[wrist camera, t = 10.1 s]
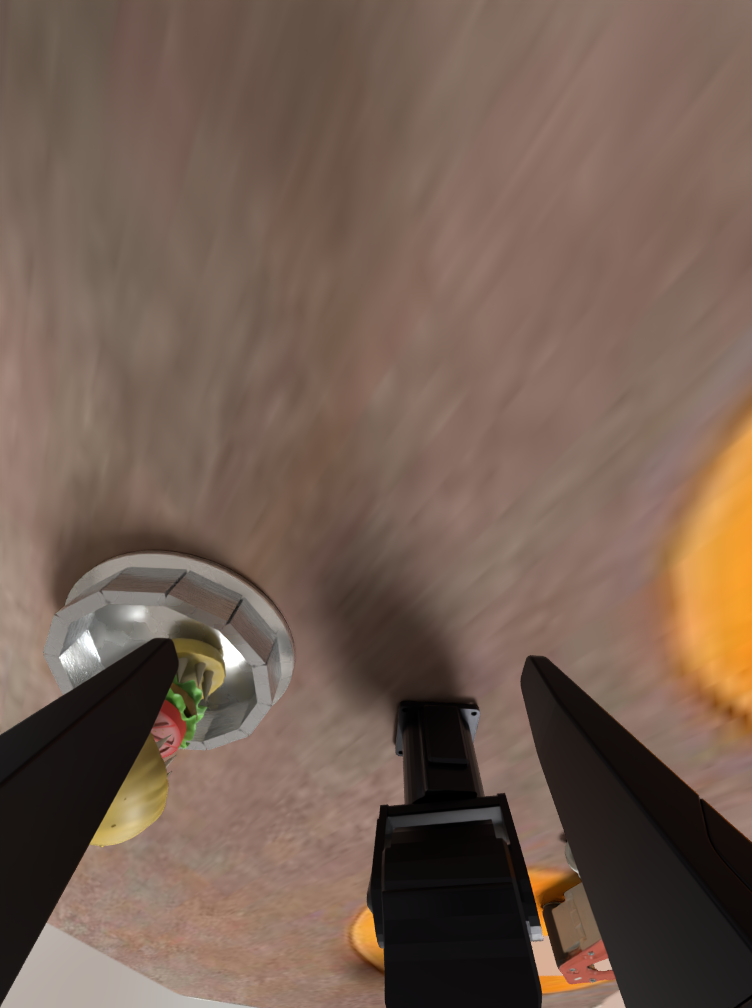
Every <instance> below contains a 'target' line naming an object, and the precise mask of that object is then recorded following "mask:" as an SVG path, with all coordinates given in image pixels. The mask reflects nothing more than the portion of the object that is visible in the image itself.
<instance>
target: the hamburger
mask: <svg viewBox="0 0 752 1008" xmlns="http://www.w3.org/2000/svg"><path fill="white" fill-rule="evenodd" d="M172 640H173V642H174V645H175V648H176V652H177V656H178V659H179V667H178V671H177V673H176V676H175V678H174V680H173V683H172V685H171V687H170V689H169V692H168V694H167V696H166V699H165V701H164V703H163V705H162V708H161V710H160V712H159V715H158V717H157V719H156V721H155V724H154V726H153V728H152V730H151V732H150V734H149V736H148V738H147V740H146V742H145V744H144V746H143V748H142V749H141V751H140V753H139V755H138V757H137V759H136V760H135V762H134V764H133V766H132V768H131V770H130V771H129V773H128V775H127V777H126V779H125V780H124V782H123V784H122V786H121V788H120V790H119V791H118V793H117V795H116V797H115V799H114V800H113V802H112V804H111V806H110V808H109V810H108V811H107V813H106V815H105V817H104V819H103V821H102V822H101V824H100V826H99V828H98V830H97V831H96V833H95V835H94V837H93V839H92V841H91V842H90V844H89V845H96V846H100V847H104V846H106V845H114V844H118V843H122V842H124V841H127V840H129V839H131V838H133V837H134V836H136V835H138V834H139V833H141V832H142V831H143V830H145V829H146V828H147V827H148V826H149V825H151V824H152V823H153V822H155V821H156V820H157V819H158V817H159V816H160V815H161V813H162V812H163V810H164V808H165V802H166V799H167V791H168V780H167V778H168V776H169V775H170V774H171V772H172V771H171V772H169V773H168V774H167V770H166V768H167V767H168V765H169V764H170V763H171V762H172V760H173V759H174V758H175V757H176V755H175V756H174V757H172V758H170V759H169V760H167V761H165V762H164V760H163V759H162V758H164V757H167V756H169V755H171V754H173V753H174V752H175V751H176V750H177V749H178V748H181V747H182V748H183V749H185V748H186V747H187V746H189V745H190V743H189V742H186V741H191V740H192V739H193V736H194V734H195V731H196V723H198V722H199V721H200V720H201V718H202V717H203V716H204V712H205V710H206V709H207V707H206V706H203V705H198V704H199V702H200V700H201V699H203V698H204V702H205V704H206V701H207V698H208V696H209V695H210V694H211V693H213V692H214V691H215V690H216V689H217V688H218V687H220V686H221V685H222V683H223V682H224V678H225V676H226V670H225V662H224V659H223V657H222V655H221V653H220V652H219V651H218V650H217V649H216V648H215V647H213V646H212V645H210V644H208V643H205V642H203V641H199V640H195V639H185V638H175V639H172Z"/></svg>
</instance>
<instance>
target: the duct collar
mask: <svg viewBox="0 0 752 1008" xmlns="http://www.w3.org/2000/svg"><path fill="white" fill-rule="evenodd" d="M153 638H170V639H175V638H185V639H195V640H199V641H203V642H205V643H208V644H210V645H212V646H213V647H215V648H216V649H217V650H218V651H219V652H220V653H221V655H222V657H223V659H224V662H225V670H226V676H225V678H224V682H223V683H222V685H221V686H220V687H218V688H217V689H216V690H215V691H214V692H213V693H211V694H210V695H209V696H208V698H207V701H206V704H205V702H204V698H203V699H201V700H200V702H199V704H198V705H203V706H206V707H207V709H206V710H205V712H204V716H203V717H202V718H201V720H200V721H199V722H198V723H196V731H195V734H194V736H193V739H192V740H191V741H186V742H189V743H190V745H189V746H187V747H186V748H185V749H192V750H207V749H208V750H210V749H213V748H216V747H219V746H222V745H225V744H228V743H231V742H233V741H236V740H239V739H242V738H245V737H248V736H249V735H251V733H252V732H253V731H254V729H255V728H256V727H257V725H258V724H259V723H260V721H261V720H262V719H263V717H264V716H265V715H266V713H267V712H268V710H269V709H270V708H271V706H272V705H274V704H275V703H276V702H277V701H278V700H279V699H280V698H281V696H282V695H283V694H284V692H285V690H286V689H287V687H288V685H289V682H290V680H291V677H292V673H293V669H294V664H295V648H294V642H293V638H292V635H291V632H290V629H289V627H288V625H287V623H286V621H285V619H284V617H283V616H282V614H281V613H280V612H279V610H278V609H277V607H276V606H275V605H274V604H273V603H272V602H271V600H270V599H269V598H268V597H267V596H266V595H265V594H264V593H263V592H262V591H260V590H259V589H258V588H257V587H256V586H255V585H253V584H252V583H251V582H249V581H248V580H246V579H245V578H243V577H242V576H241V575H239V574H237V573H235V572H233V571H232V570H230V569H228V568H226V567H224V566H222V565H219V564H217V563H215V562H212V561H210V560H207V559H204V558H200V557H197V556H194V555H190V554H185V553H180V552H173V551H163V550H144V551H137V552H129V553H126V554H122V555H118V556H115V557H113V558H110V559H108V560H106V561H104V562H102V563H100V564H99V565H97V566H96V567H94V568H93V569H91V570H90V571H89V572H87V573H86V574H85V575H84V576H83V577H82V578H80V579H79V580H78V581H77V582H76V584H75V585H74V587H73V588H72V589H71V591H70V593H69V595H68V598H67V600H66V603H65V606H64V607H63V608H62V609H60V610H59V611H58V612H57V613H56V614H55V615H54V617H53V620H52V624H51V627H50V631H49V634H48V637H47V641H46V644H45V648H44V651H43V653H45V654H44V657H45V659H46V661H47V663H48V665H49V667H50V669H51V672H52V674H53V676H54V678H55V680H56V682H57V684H58V686H59V688H60V690H61V692H62V694H66V693H67V692H69V691H71V690H72V689H74V688H75V687H77V686H78V685H80V684H82V683H83V682H85V681H86V680H88V679H90V678H91V677H93V676H94V675H96V674H97V673H99V672H101V671H102V670H104V669H105V668H107V667H109V666H110V665H112V664H113V663H115V662H116V661H118V660H120V659H121V658H123V657H124V656H126V655H128V654H129V653H131V652H132V651H134V650H135V649H137V648H139V647H140V646H142V645H143V644H145V643H147V642H148V641H150V640H151V639H153ZM178 749H183V748H182V747H181V748H178Z"/></svg>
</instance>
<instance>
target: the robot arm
mask: <svg viewBox="0 0 752 1008" xmlns="http://www.w3.org/2000/svg"><path fill="white" fill-rule="evenodd" d="M178 667H179V659H178V656H177V652H176V648H175V645H174V642H173V640H172V639H170V638H153V639H151V640H150V641H148V642H147V643H145V644H143V645H142V646H140V647H139V648H137V649H135V650H134V651H132V652H131V653H129V654H128V655H126V656H124V657H123V658H121V659H120V660H118V661H116V662H115V663H113V664H112V665H110V666H109V667H107V668H105V669H104V670H102V671H101V672H99V673H97V674H96V675H94V676H93V677H91V678H90V679H88V680H86V681H85V682H83V683H82V684H80V685H78V686H77V687H75V688H74V689H72V690H71V691H69V692H67V693H66V694H64V695H63V696H61V697H60V698H58V699H56V700H55V701H53V702H52V703H50V704H48V705H47V706H45V707H44V708H42V709H41V710H39V711H37V712H36V713H34V714H33V715H31V716H29V717H28V718H26V719H25V720H23V721H22V722H20V723H18V724H17V725H15V726H14V727H12V728H10V729H9V730H7V731H6V732H4V733H3V734H1V735H0V1006H1V1004H2V1003H3V1001H4V999H5V997H6V995H7V994H8V992H9V990H10V988H11V986H12V984H13V983H14V981H15V979H16V977H17V975H18V974H19V972H20V970H21V968H22V966H23V964H24V963H25V960H26V958H27V957H28V955H29V954H30V952H31V950H32V948H33V946H34V944H35V942H36V941H37V939H38V937H39V935H40V933H41V931H42V930H43V928H44V926H45V924H46V923H47V921H48V919H49V917H50V915H51V913H52V912H53V910H54V908H55V906H56V904H57V903H58V901H59V899H60V897H61V895H62V893H63V892H64V890H65V888H66V886H67V884H68V882H69V881H70V879H71V877H72V875H73V873H74V872H75V870H76V868H77V866H78V864H79V862H80V861H81V859H82V857H83V855H84V853H85V852H86V850H87V848H88V846H89V844H90V842H91V841H92V839H93V837H94V835H95V833H96V831H97V830H98V828H99V826H100V824H101V822H102V821H103V819H104V817H105V815H106V813H107V811H108V810H109V808H110V806H111V804H112V802H113V800H114V799H115V797H116V795H117V793H118V791H119V790H120V788H121V786H122V784H123V782H124V780H125V779H126V777H127V775H128V773H129V771H130V770H131V768H132V766H133V764H134V762H135V760H136V759H137V757H138V755H139V753H140V751H141V749H142V748H143V746H144V744H145V742H146V740H147V738H148V736H149V734H150V732H151V730H152V728H153V726H154V724H155V721H156V719H157V717H158V715H159V712H160V710H161V708H162V705H163V703H164V701H165V699H166V696H167V694H168V692H169V689H170V687H171V685H172V683H173V680H174V678H175V676H176V673H177V671H178ZM520 682H521V690H522V694H523V698H524V702H525V706H526V710H527V714H528V718H529V722H530V726H531V731H532V735H533V739H534V743H535V747H536V750H537V754H538V757H539V760H540V763H541V766H542V769H543V772H544V775H545V778H546V781H547V784H548V786H549V789H550V792H551V795H552V798H553V801H554V804H555V807H556V809H557V812H558V815H559V818H560V821H561V824H562V827H563V829H564V832H565V835H566V838H567V841H568V844H569V847H570V849H571V852H572V855H573V858H574V861H575V864H576V867H577V870H578V872H579V875H580V878H581V881H582V884H583V887H584V890H585V892H586V895H587V898H588V901H589V904H590V907H591V910H592V912H593V915H594V918H595V921H596V924H597V927H598V930H599V933H600V935H601V938H602V941H603V944H604V947H605V950H606V953H607V955H608V958H609V961H610V964H611V967H612V970H613V973H614V975H615V978H616V981H617V984H618V987H619V990H620V993H621V996H622V998H623V1001H624V1004H625V1007H626V1008H752V842H751V841H750V840H749V839H748V838H747V837H745V836H744V835H743V834H742V833H741V832H740V831H739V830H738V829H736V828H735V827H734V826H733V825H732V824H731V823H730V822H728V821H727V820H726V819H725V818H724V817H723V816H722V815H721V814H720V813H718V812H717V811H716V810H715V809H714V808H713V807H712V806H711V805H710V804H708V803H707V802H706V801H705V800H704V799H700V797H699V795H698V794H697V793H696V792H695V791H694V790H693V789H692V788H691V787H689V786H688V785H687V784H686V783H685V782H684V781H683V780H682V779H681V778H679V777H678V776H677V775H676V774H675V773H674V772H673V771H672V770H671V769H670V768H668V767H667V766H666V765H665V764H664V763H663V762H662V761H661V760H660V759H658V758H657V757H656V756H655V755H654V754H653V753H652V752H651V751H650V750H649V749H647V748H646V747H645V746H644V745H643V744H642V743H641V742H640V741H639V740H637V739H636V738H635V737H634V736H633V735H632V734H631V733H630V732H629V731H627V730H626V729H625V728H624V727H623V726H622V725H621V724H620V723H619V722H618V721H616V720H615V719H614V718H613V717H612V716H611V715H610V714H609V713H608V712H606V711H605V710H604V709H603V708H602V707H601V706H600V705H599V704H598V703H596V702H595V701H594V700H593V699H592V698H591V697H590V696H589V695H588V694H587V693H585V692H584V691H583V690H582V689H581V688H580V687H579V686H578V685H577V684H575V683H574V682H573V681H572V680H571V679H570V678H569V677H568V676H567V675H566V674H564V673H563V672H562V671H561V670H560V669H559V668H558V667H557V666H556V665H554V664H553V663H552V662H551V661H550V660H549V659H548V658H546V657H544V656H534V655H530V656H528V657H527V658H526V661H525V665H524V668H523V672H522V675H521V681H520ZM479 716H480V710H479V707H478V706H477V705H469V704H449V703H429V702H410V701H403V702H401V703H400V704H399V711H398V723H397V734H396V746H395V752H396V754H397V755H398V756H403V772H404V799H405V804H404V805H394V806H389V805H388V804H387V805H380V814H379V819H377V827H376V836H375V846H374V855H373V864H372V873H371V878H370V882H369V887H368V891H367V906H368V908H369V909H370V911H371V912H372V914H373V918H374V925H375V932H376V937H377V942H378V944H379V947H380V948H384V967H385V1005H386V1008H541V1004H542V990H541V984H540V980H539V976H538V971H537V967H536V963H535V959H534V954H533V950H532V946H531V941H533V942H534V941H543V934H542V929H541V925H540V920H539V916H538V911H537V907H536V903H535V899H534V895H533V891H532V887H531V883H530V879H529V876H528V872H527V868H526V864H525V861H524V857H523V854H522V850H521V847H520V844H519V840H518V837H517V833H516V830H515V826H514V823H513V819H512V816H511V812H510V809H509V805H508V802H507V798H506V795H505V793H499V794H497V795H496V796H486V797H485V796H484V791H483V786H482V782H481V777H480V773H479V768H478V763H477V759H476V754H475V750H474V745H473V743H474V738H475V734H476V730H477V725H478V721H479Z"/></svg>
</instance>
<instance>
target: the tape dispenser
mask: <svg viewBox="0 0 752 1008" xmlns="http://www.w3.org/2000/svg"><path fill="white" fill-rule="evenodd" d="M565 856H566V859H567V862H568V864H569V865H570V867H571V868H572V869H573V870H574V871H575V872H577V873H578V875H579V872H578V870H577V867H576V864H575V861H574V858H573V855H572V852H571V849H570V847H569V844H568V842H567V843H566V846H565ZM579 877H580V875H579ZM564 897H565V901H564V902H563V903H559V902H551V903H547V904H545V905H544V906H543V918H544V921H545V925H546V928H547V932H548V936H549V939H550V943H551V946H552V950H553V953H554V957H555V960H556V964H557V967H558V969H559V970H560V972H561V973H562V974H563V975H564V977H565V979H566V981H567V982H568V983H569V984H577V983H586V982H590V983H592V982H596V981H599V980H613V979H616V978H615V975H614V973H613V970H607V971H598V970H597V969H595V967H594V963H596V962H599V961H602V960H605V959H607V958H608V955H607V953H606V950H605V947H604V944H603V941H602V938H601V935H600V933H599V930H598V927H597V924H596V921H595V918H594V915H593V912H592V910H591V907H590V904H589V901H588V898H587V895H586V892H585V890H584V887H583V884H582V882H581V883H579V884H578V885H576V886H574V887H573V888H571V889H569V890H568V891H566V892H565V893H564Z"/></svg>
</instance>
